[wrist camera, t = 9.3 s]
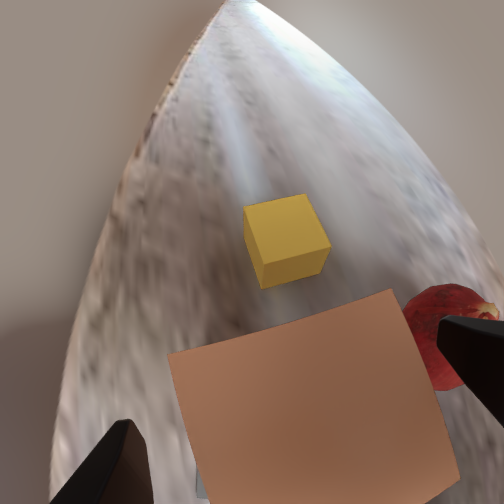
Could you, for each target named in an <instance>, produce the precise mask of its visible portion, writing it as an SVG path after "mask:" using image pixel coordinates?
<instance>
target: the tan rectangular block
mask: <svg viewBox="0 0 504 504" xmlns="http://www.w3.org/2000/svg"><path fill="white" fill-rule="evenodd" d="M167 356H168V360H169V365H170V369H171V374H172V378H173V382H174V386H175V390H176V394H177V398H178V402H179V406H180V409H181V413H182V417H183V420H184V424H185V428H186V431H187V434H188V438H189V441H190V445H191V448H192V451H193V454H194V458H195V461H196V464H197V467H198V470H199V473H200V476H201V479H202V482H203V485H204V488H205V490H206V493H207V496H208V499H209V502H210V504H425V503H426V502H428V501H429V500H431V499H433V498H434V497H436V496H437V495H439V494H440V493H442V492H443V491H444V490H446V489H447V488H449V487H450V486H452V485H453V484H454V483H456V482H457V481H458V480H460V479H461V478H460V474H459V470H458V466H457V462H456V458H455V455H454V451H453V448H452V444H451V441H450V437H449V434H448V431H447V428H446V424H445V421H444V418H443V415H442V412H441V409H440V406H439V403H438V400H437V397H436V395H435V392H434V389H433V386H432V383H431V381H430V378H429V375H428V373H427V370H426V368H425V365H424V362H423V360H422V357H421V355H420V352H419V350H418V347H417V345H416V343H415V340H414V338H413V335H412V333H411V331H410V328H409V326H408V324H407V321H406V319H405V317H404V315H403V312H402V310H401V308H400V306H399V304H398V301H397V299H396V297H395V295H394V293H393V291H392V289H391V288H389V289H387V290H384V291H381V292H379V293H376V294H373V295H370V296H367V297H365V298H362V299H359V300H356V301H353V302H350V303H347V304H345V305H342V306H339V307H336V308H333V309H330V310H327V311H324V312H321V313H317V314H314V315H311V316H308V317H305V318H302V319H298V320H295V321H292V322H289V323H285V324H282V325H279V326H275V327H272V328H268V329H265V330H261V331H258V332H254V333H251V334H247V335H243V336H240V337H236V338H232V339H229V340H225V341H221V342H217V343H213V344H209V345H205V346H201V347H197V348H193V349H189V350H184V351H180V352H176V353H171V354H167Z"/></svg>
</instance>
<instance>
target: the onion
mask: <svg viewBox="0 0 504 504" xmlns="http://www.w3.org/2000/svg"><path fill="white" fill-rule="evenodd" d="M402 312H403V315H404V317H405V319H406V321H407V324H408V326H409V328H410V331H411V333H412V335H413V338H414V340H415V343H416V345H417V347H418V350H419V352H420V355H421V357H422V360H423V362H424V365H425V368H426V370H427V373H428V375H429V378H430V381H431V383H432V386H433V389H434V390H438V391H448V390H450V389H453V388H455V387H458V386H460V385H463V384H465V383H464V382H463V381H462V380H461V379H460V377H459V376H458V375H457V373H456V372H455V371H454V369H453V368H452V367H451V365H450V364H449V363H448V361H447V360H446V359H445V357H444V356H443V355H442V353H441V352H440V351H439V349H438V348H437V345H436V339H437V331H438V323H439V321H440V320H441V319H442V318H444V317H446V316H448V315H456V316H464V317H472V318H481V319H489V320H498V319H499V311H498V310H497V308H496V307H495V305H494V303H487V302H485V301H484V299H483V298H482V297H480V296H479V295H478V294H477V293H476V292H475V291H473V290H472V289H470V288H467V287H464V286H461V285H458V284H445V285H438V286H432V287H429V288H428V289H426V290H425V291H423V292H422V293H420V294H419V295H417V296H416V297H414V298H413V299H411V300H410V301H409V302H408V304H407V305H406V307H405V308H404V310H403V311H402Z"/></svg>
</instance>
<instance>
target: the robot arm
mask: <svg viewBox="0 0 504 504" xmlns="http://www.w3.org/2000/svg"><path fill="white" fill-rule="evenodd" d="M436 345H437V348H438V349H439V351H440V352H441V353H442V355H443V356H444V357H445V359H446V360H447V361H448V363H449V364H450V365H451V367H452V368H453V369H454V371H455V372H456V373H457V375H458V376H459V377H460V379H461V380H462V381H463V382H464V383H465V385H466V386H467V387H468V388H469V389H470V390H471V391H472V392H473V393H474V395H475V396H476V397H477V398H478V399H479V400H480V401H481V402H482V403H483V405H484V406H485V407H486V408H487V409H488V410H489V411H490V413H491V414H492V415H493V416H494V417H495V418H496V419H497V421H498V422H499V423H500V424H501V425H502V426H503V428H504V321H498V320H489V319H481V318H472V317H464V316H456V315H448V316H446V317H444V318H442V319H441V320H440V321H439V323H438V331H437V339H436ZM49 504H154V500H153V490H152V483H151V476H150V470H149V463H148V455H147V447H146V443H145V440H144V438H143V437H142V435H141V433H140V432H139V430H138V428H137V427H136V425H135V423H134V422H133V421H132V420H131V419H124V420H118V421H116V422H115V423H114V424H113V425H112V426H111V428H110V429H109V430H108V431H107V433H106V434H105V435H104V436H103V437H102V439H101V440H100V441H99V442H98V444H97V445H96V446H95V447H94V449H93V450H92V451H91V452H90V454H89V455H88V456H87V457H86V459H85V460H84V461H83V462H82V464H81V465H80V466H79V467H78V468H77V470H76V471H75V472H74V473H73V475H72V476H71V477H70V478H69V480H68V481H67V482H66V483H65V485H64V486H63V487H62V488H61V490H60V491H59V492H58V493H57V495H56V496H55V497H54V498H53V499H52V501H51V502H50V503H49Z"/></svg>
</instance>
